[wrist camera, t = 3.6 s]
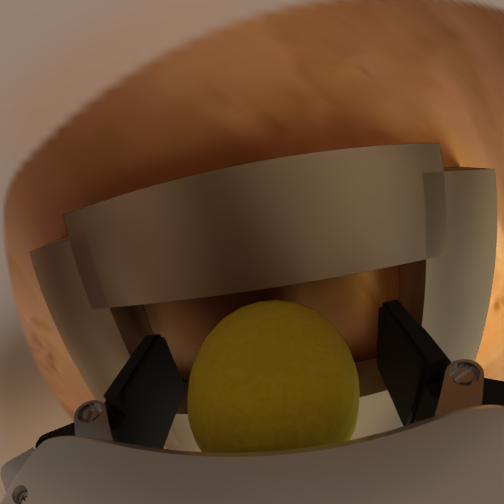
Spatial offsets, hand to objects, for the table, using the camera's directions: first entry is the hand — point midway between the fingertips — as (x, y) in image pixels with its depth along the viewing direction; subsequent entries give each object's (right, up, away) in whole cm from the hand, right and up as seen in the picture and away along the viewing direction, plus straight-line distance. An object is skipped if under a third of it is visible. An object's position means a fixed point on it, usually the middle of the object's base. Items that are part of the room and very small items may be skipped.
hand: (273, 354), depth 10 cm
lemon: (0, +1, +2) cm, 2 cm away
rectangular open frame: (0, +1, +2) cm, 2 cm away
